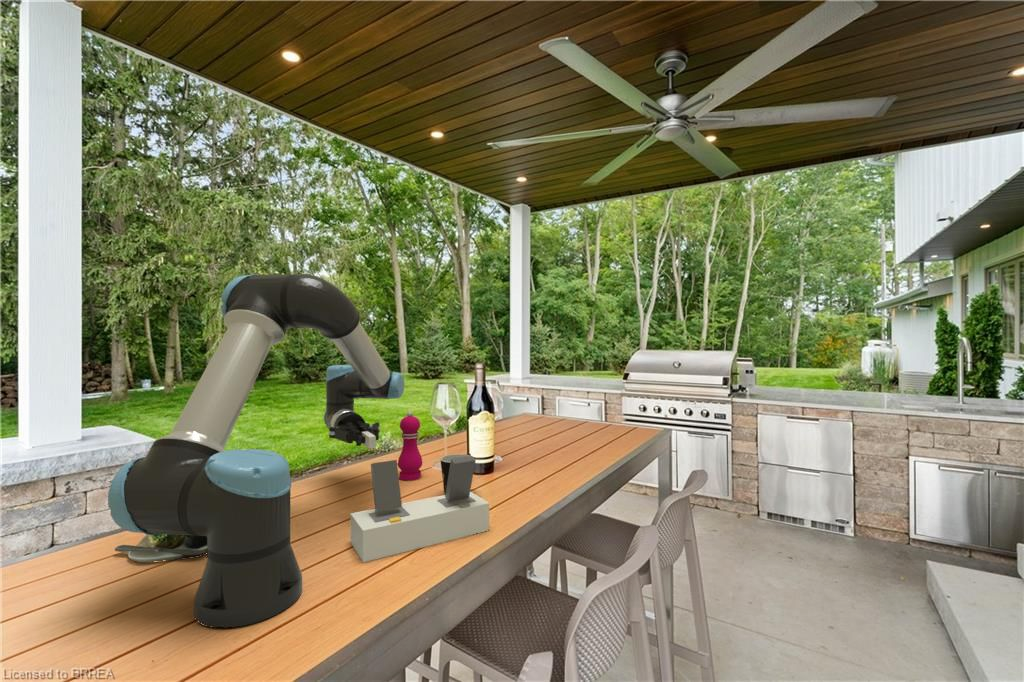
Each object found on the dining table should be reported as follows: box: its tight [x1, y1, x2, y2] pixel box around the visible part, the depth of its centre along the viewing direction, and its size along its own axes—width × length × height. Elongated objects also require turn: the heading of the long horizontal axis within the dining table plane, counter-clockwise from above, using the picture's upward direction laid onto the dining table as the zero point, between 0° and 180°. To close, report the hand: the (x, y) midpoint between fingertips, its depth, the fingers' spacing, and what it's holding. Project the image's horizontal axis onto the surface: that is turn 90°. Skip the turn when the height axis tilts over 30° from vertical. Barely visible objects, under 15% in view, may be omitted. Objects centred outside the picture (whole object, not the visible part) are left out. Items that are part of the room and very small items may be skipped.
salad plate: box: [114, 534, 207, 563], centre depth 94 cm, size 19×18×5 cm
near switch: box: [370, 459, 403, 512], centre depth 96 cm, size 5×2×10 cm, turn 122°
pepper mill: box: [397, 410, 423, 481], centre depth 140 cm, size 7×7×20 cm
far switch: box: [445, 455, 476, 502], centre depth 101 cm, size 5×2×10 cm, turn 122°
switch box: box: [350, 490, 490, 563], centre depth 99 cm, size 27×10×6 cm, turn 122°
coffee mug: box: [440, 453, 470, 495], centre depth 125 cm, size 12×9×10 cm
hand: (372, 442), depth 106 cm, fingers closed
